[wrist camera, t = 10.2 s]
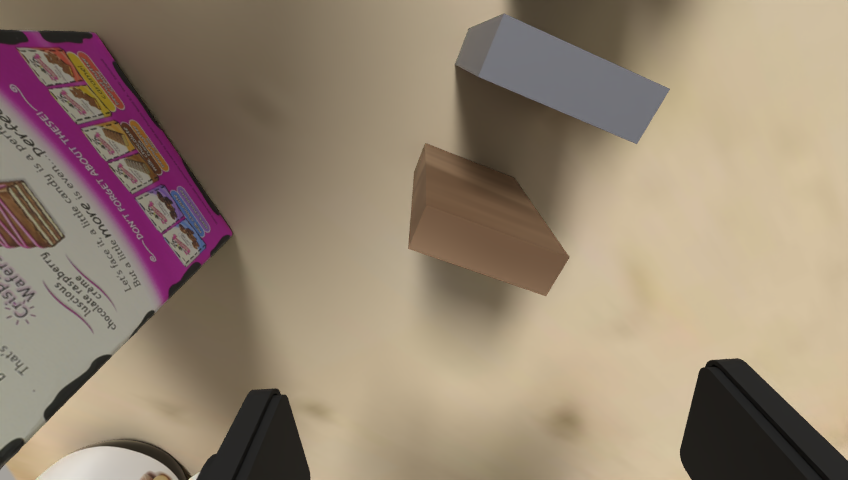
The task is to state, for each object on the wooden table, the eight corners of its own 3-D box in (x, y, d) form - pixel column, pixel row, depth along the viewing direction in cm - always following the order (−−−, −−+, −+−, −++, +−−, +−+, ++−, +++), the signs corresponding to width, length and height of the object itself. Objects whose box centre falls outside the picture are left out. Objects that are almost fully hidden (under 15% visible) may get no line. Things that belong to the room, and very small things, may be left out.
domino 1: (468, 28, 19) (504, 13, 10) (565, 71, 19) (669, 88, 11) (454, 64, 19) (477, 76, 11) (549, 104, 20) (636, 143, 12)
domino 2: (501, 204, 22) (545, 296, 14) (414, 171, 21) (408, 248, 13) (514, 177, 22) (569, 257, 13) (425, 143, 21) (426, 204, 13)
